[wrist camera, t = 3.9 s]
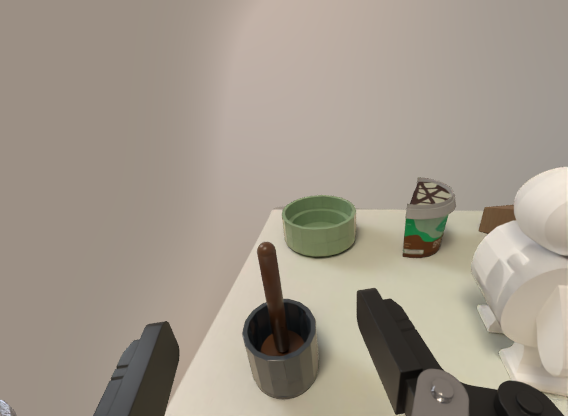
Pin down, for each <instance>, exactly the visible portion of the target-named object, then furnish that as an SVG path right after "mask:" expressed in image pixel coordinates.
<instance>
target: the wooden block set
mask: <svg viewBox="0 0 568 416" xmlns="http://www.w3.org/2000/svg"><path fill="white" fill-rule="evenodd" d="M515 220H516V218H515V215H514V205H506V206H493V207H485V208H484V212H483V216H482V219H481V223H480V227H479V231H480V232H485V233H490V232H491V231H493V230H494V229H495V228H496V227H497V226H500V225H503V224H505V223H508V222H510V221H515Z"/></svg>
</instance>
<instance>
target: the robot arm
mask: <svg viewBox="0 0 568 416" xmlns="http://www.w3.org/2000/svg"><path fill="white" fill-rule="evenodd" d="M357 322H358V326H359V329H360V332H361V334H362V337H363V339H364V341H365V344H366V346H367V348H368V351H369V353H370V356H371V358H372V360H373V363H374V365H375V367H376V370H377V372H378V374H379V377H380V379H381V381H382V384H383V386H384V389H385V391H386V393H387V396H388V398H389V400H390V403H391V405H392V407H393V410H394V412H395V414H396V415H397V414H403V413H405V415H406V416H564V415H563V414H562V413H561V412H560V410H559V409H558V408H557V407H556V406H555V405H554V404H553V402H552V401H551V400H550V399H549V398H548V397H547V396H545V395H544V394H543V393H542V392H540V391H539V390H537V389H536V388H534V387H532V386H530V385H528V384H526V383H523V382H519V381H505V382H503V383H502V384H501V385H500V386H499V388H498V390H496V389H489V388H483V387H477V386H471V385H467V384H464V383H462V382H459V381H458V380H457V379H456V378H455V377H454V376H452V375H451V374H449V373H447V372H445V371H444V370H443V369H442V368H441V367H440V365H439V364H438V362H437V361H436V359H435V358H434V356H433V355H432V353H431V351H430V350H429V348H428V347H427V345H426V344H425V342H424V341H423V339H422V338H421V336H420V335H419V333H418V332H417V330H415V327H414V325H413V324H412V322H411V321H410V320H409V318H408V316H407V315H406V313H405V312H404V310H403V309H402V307H401V306H400V305H398V304H397V303H396V302H394V301H393V300H392V299H385V300H383V299H382V297H381V296H380V294H379V292H378V291H377V289H376V288H371V289H365V290H358V291H357ZM178 362H179V346H178V343H177V341H176V338H175V336H174V334H173V332H172V329H171V327H170V324H169V323H168V322H167V321H165V322H159V323H153V324H148V325H146V327H145V328H144V331H143V333H142V335H141V338H140V339H139V340H134V341H133V342H132V343H131V344H130V346H129V347H128V348H127V349H126V350H125V351H124V353H123V354H122V356H121V358H120V360H119V363H118V365H117V369H115V371H114V373H113V375H112V377H111V381H110V382H109V383H108V386H107V388H106V390H105V392H104V394H103V396H102V398H101V400H100V402H99V404H98V407H97V409H96V411H95V413H94V415H93V416H164V415H165V411H166V407H167V404H168V400H169V396H170V392H171V388H172V385H173V381H174V377H175V373H176V370H177V366H178Z"/></svg>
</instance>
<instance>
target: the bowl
mask: <svg viewBox="0 0 568 416" xmlns="http://www.w3.org/2000/svg"><path fill="white" fill-rule="evenodd" d="M282 221H283V229H284V236H285V241H286V243H287V245H288V247H290V248H291V249H292V250H293V251H295V252H298V253H300V254H303V255H308V256H314V257H315V256H316V257H317V256H330V255H334V254H338V253H341V252H342V251H344V250H346V249H348V248H349V247H350V246H351V245H352V244H353V243H354V241H355V237H356V209H355V207H354V205H353V204H352V203H351V202H349V201H348V200H345V199H343V198H340V197H335V196H326V195H318V196H309V197H304V198H300V199H298V200H295V201H293V202H291V203H290V204H288V205H287V206H286V207H285V208H284V209H283V211H282Z"/></svg>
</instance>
